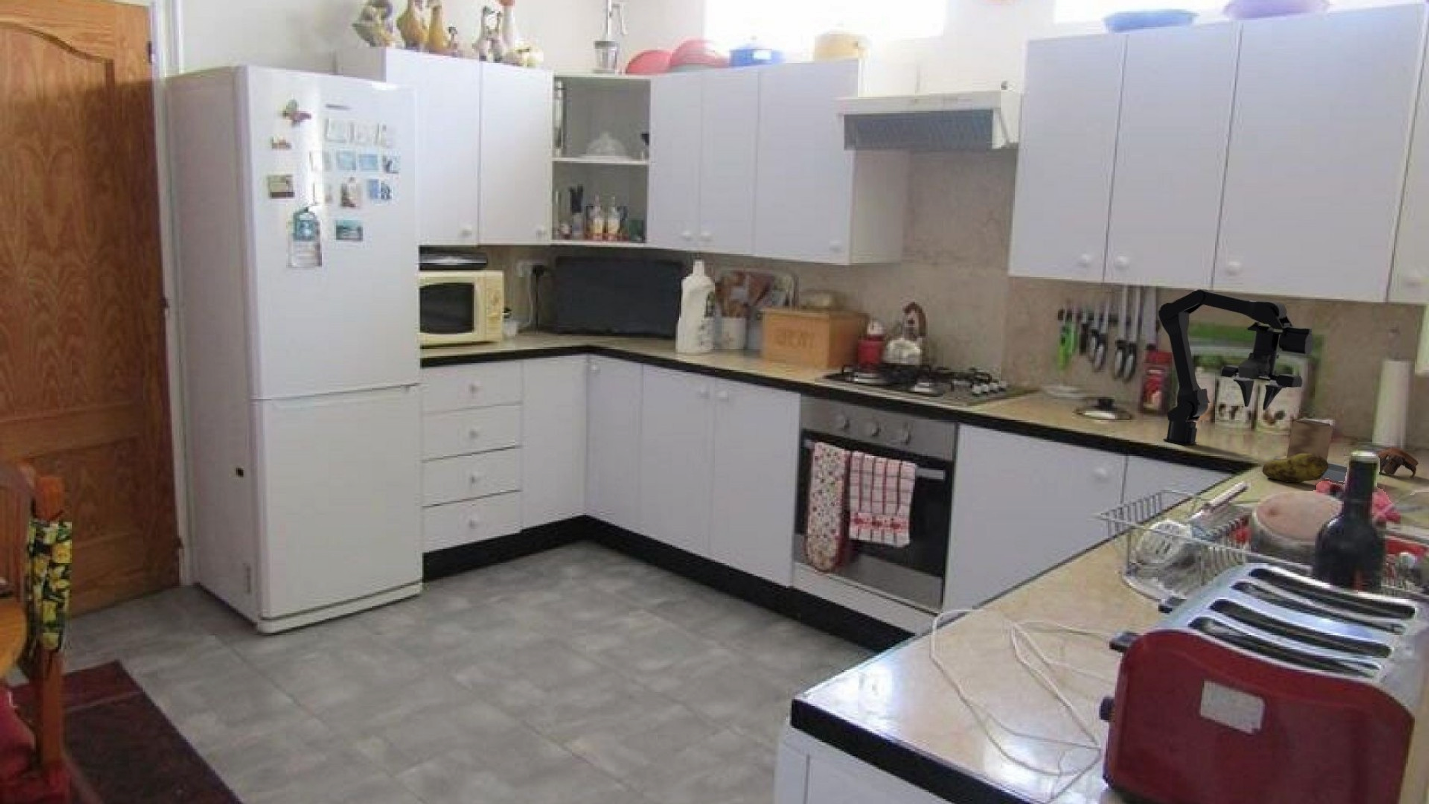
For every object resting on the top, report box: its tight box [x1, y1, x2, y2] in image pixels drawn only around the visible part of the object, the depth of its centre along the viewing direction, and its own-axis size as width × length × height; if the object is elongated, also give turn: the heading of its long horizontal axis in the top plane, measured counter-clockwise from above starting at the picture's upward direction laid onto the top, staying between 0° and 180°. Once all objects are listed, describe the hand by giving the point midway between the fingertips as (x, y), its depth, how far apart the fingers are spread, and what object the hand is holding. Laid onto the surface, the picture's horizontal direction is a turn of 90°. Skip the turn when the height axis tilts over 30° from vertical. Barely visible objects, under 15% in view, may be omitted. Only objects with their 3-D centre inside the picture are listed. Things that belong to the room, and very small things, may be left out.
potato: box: [1261, 453, 1329, 483], centre depth 244 cm, size 8×13×8 cm, turn 33°
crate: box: [1286, 418, 1334, 462], centre depth 258 cm, size 7×6×12 cm
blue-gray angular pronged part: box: [1273, 457, 1348, 482], centre depth 256 cm, size 18×11×7 cm, turn 36°
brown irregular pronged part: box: [1377, 446, 1419, 479], centre depth 260 cm, size 12×10×8 cm
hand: (1255, 408), depth 270 cm, fingers open, 4 cm apart
